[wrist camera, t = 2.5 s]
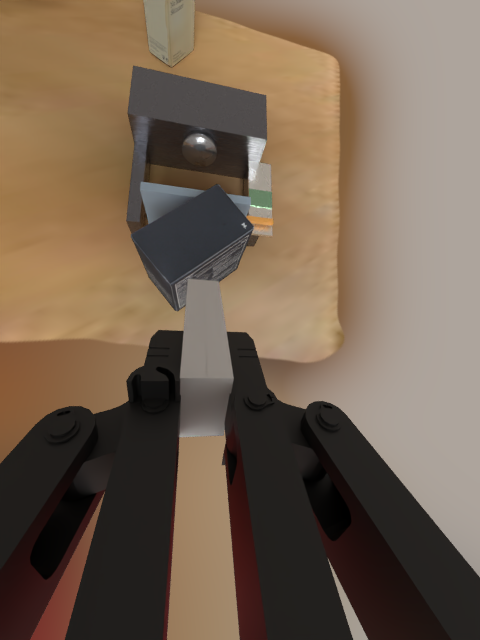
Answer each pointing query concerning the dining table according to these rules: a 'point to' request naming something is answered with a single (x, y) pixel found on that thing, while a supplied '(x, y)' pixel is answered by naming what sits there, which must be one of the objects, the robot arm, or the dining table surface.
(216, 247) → the small box
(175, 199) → the blue-grey flat panel
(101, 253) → the dining table surface
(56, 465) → the robot arm
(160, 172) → the dining table surface
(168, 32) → the skincare box
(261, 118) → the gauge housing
